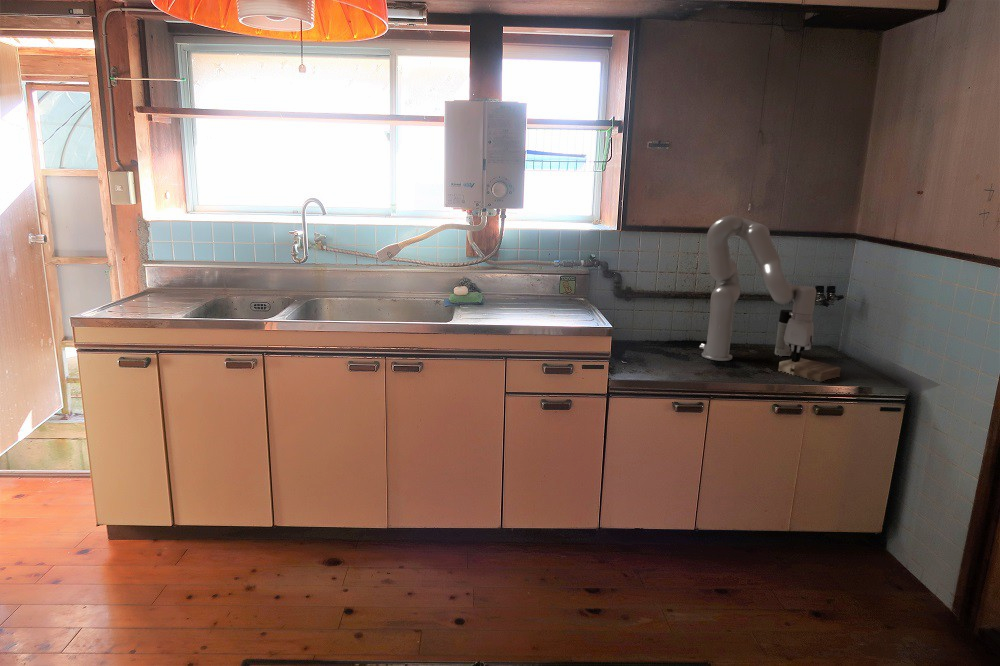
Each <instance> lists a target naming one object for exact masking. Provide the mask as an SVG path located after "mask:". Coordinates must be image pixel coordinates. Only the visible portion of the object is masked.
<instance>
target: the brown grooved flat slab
mask: <svg viewBox="0 0 1000 666" xmlns="http://www.w3.org/2000/svg"><path fill="white" fill-rule="evenodd" d="M810 361H811V362H807V363H803V364H799V365H795V368H794V369H792V370H794V375H793V376H795V375H797V376H796V377H798V376H800V377H799V378H802V377H803V379H805V378H807V379H806V380H809V379H810V380H809V381H812V380H814V381H813V382H816V381H824V380H827V379H831V378H835V377H839V378H840V374H841V368H842V367H839V366H835V365H834V364H833V365H832V364H829V363H824V362H820V361H817V360H810ZM835 379H836V378H835ZM824 382H825V381H824Z"/></svg>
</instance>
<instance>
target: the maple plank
mask: <svg viewBox="0 0 1000 666" xmlns="http://www.w3.org/2000/svg"><path fill="white" fill-rule="evenodd" d="M811 361H812V360H810V359H807V358H802V357H801V358H800V360H799V361H798V362H794V361H792V358H791V359H787V360H781V361H779V363H778V369H777V370H778V372H780V371H782V372H781V373H784V372H786V373H785V374H787V373H789V374H788V375H790V374H792V375H791V376H795V375H794V370H792V369H794V368H795V365H799V364H803V363H807V362H811Z"/></svg>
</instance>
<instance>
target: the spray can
mask: <svg viewBox="0 0 1000 666" xmlns="http://www.w3.org/2000/svg"><path fill="white" fill-rule="evenodd" d="M792 311H793V309H781V310H780V312H779V318H778V323H777V324H778V326H777V333H776V341H775V348H774V355H776V356H778V355H779V356H778V357H782V356H789V357H791V356H792V351H791V348H790V347H789V346H788V345H786V344H785V341H784V335H785V330H786V327H787V324H788V321H789V319H790V318H792V317H791V315H789V313H790V312H792Z"/></svg>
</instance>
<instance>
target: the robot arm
mask: <svg viewBox="0 0 1000 666" xmlns="http://www.w3.org/2000/svg"><path fill="white" fill-rule="evenodd" d="M770 233H771V232H770V229H769V228H768V227H767V225H765V224H762V223H760V222H756V221H753V220H750V219H747V218H745V217H742V216H739V215H725V216H723V217H720V218H719V219H717V220H716V221H715V222H713V223H712V224H711V226H710V227H709V229H708V231H707V234H706V246H707V248H706V249H707V257H708V265H709V266H708V267H709V274H710V277H711V278H712V279H713V280H714V281H715V283H716V284H715V285H716V286H715V288H714V289H713V290H712V292H711V295H710V305H709V306H710V309H709V321H708V328H707V329H708V330H707V337H706V343H704V342H703V343H700V345H699V346H698V347H699V349H701V350H702V349H703V351H702V352H701V356H702V357H703V358H705V359H708V360H712V361H718V362H719V361H721V362H727V361H731V360H732V359H733V355H732V354H730V348H731V340H732V333H733V323H734V317H735V316H734V315H735V314H734V313H735V303H736V302H737V301H738V299H740V295H741V288H740V286H741V285H740V279H739V270H738V266H737V263H736V262H735V261H734V259H732V258H731V257H730V256H731V255H730V246H729V242H728V241H729V238H730V237H735V238H738V239H741V240H742V241H745V242H746V245H747V246H748V248H749V250H750V252H751V253H752V256H753V258H754V261H755V262H756V263H757V267H758V269H759V272H760V274H761V276H762V279H763V281H764V285H765V286H766V289H767V291H768V292H769V295H770V296H771V298H772V300H773V301H774V302H775V303H776V304H779V305H787V304H789V303H790V302H793V305H792V310H793V311H792V312H790V313H789V315H791V317H792V318H790V319H789V321H788V324H787V327H786V330H785V335H784V341H785V344H786V345H788V346H789V347H790V348H791V356H790V357H791V359H792V361H794V362H798V361H799V360H800V358H802V353H803V352H804V351H808V350H812V345H813V342H814V331H815V330H814V329H815V328H814V322H813V316H814V309H815V303H816V298H817V297H816V296H817V289H816V287H814V286H811V285H810V286H809V285H808V286H807V285H796V284H793V283H788V282H787V280H786V278H785V276H784V273H783V270H782V268H781V266H782V265H781V259H780V255H779V253H778V251H777V250H776V248H775V246H774V244H773V242H772V239H771V238H770V235H771V234H770Z"/></svg>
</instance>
